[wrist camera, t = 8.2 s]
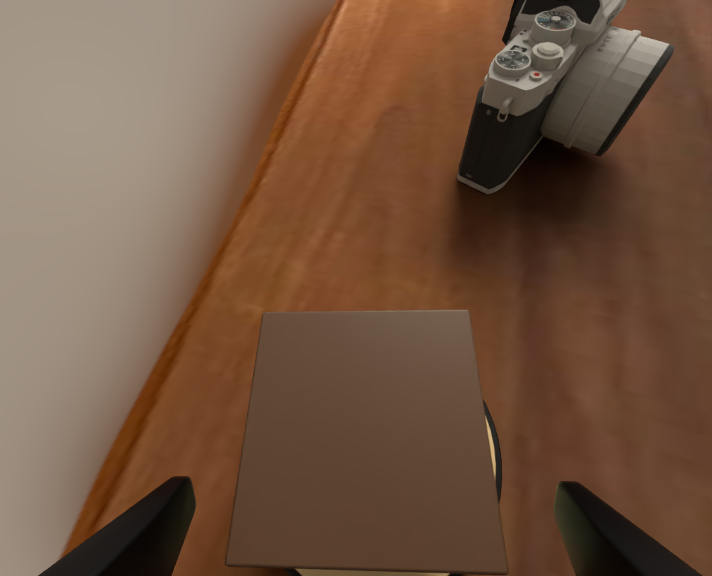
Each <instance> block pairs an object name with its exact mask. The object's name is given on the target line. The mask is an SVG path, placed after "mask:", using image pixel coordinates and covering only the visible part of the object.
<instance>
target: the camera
mask: <svg viewBox="0 0 712 576" xmlns="http://www.w3.org/2000/svg"><path fill="white" fill-rule="evenodd" d="M626 1H627V0H514V3H513V6H512V9H511V14H510V19H509V22H508V25H507V27H506V30H505V33H504V36H503V39H502V41H503V42H504V43H505V45H506V47H505V48H504V49H503V50H502V51H501V52H500V53H498V54H497V55H496V57H495V58H494V59H493V61H492V63H491V65H490V68H489V72H488V75H486V77H485V79H484V83H483V86H482V87H481V88H480V89H479V92H478V95H477V99H476V103H475V107H474V111H473V115H472V119H471V123H470V126H469V130H468V134H467V138H466V142H465V146H464V150H463V154H462V158H461V161H460V165H459V169H458V174H457V179H458V180H459V181H460V182H462V183H465V184H467V185H469V186H471V187H473V188H475V189H477V190H479V191H481V192H483V193H485V194H492V193H494V192H496V191H498V190H499V189H501V188H502V187H504V185H505V184H506V183H507V182H508V180H509V179H510V178H511V177H512V175H513V174H514V173H515V172H516V170H517V169H518V168H519V167H520V165H521V164H522V163H523V162H524V160H525V159H526V158H527V157H528V155H529V154H530V153H531V152H532V150H533V149H534V148H535V147H536V145H537V144H538V143H539V141H540V140H541V139H542V138H543V136H544V137H547V138H549V139H552V140H554V141H557V142H559V143H562V144H564V145H563V146H564V147H567V148H570V147H571V146H573V147H576V148H578V149H581V150H583V151H586V152H589V153H591V154H594V155H597V156H601V155H602V154H604V153H605V152H606V151H607V150H608V148H609V147H610V146H611V144H612V143H613V142H614V140H615V139H616V137H617V136H618V134H619V133H620V132H621V130H622V129H623V127H624V126H625V124H626V123H627V121H628V120H629V119H630V117H631V116H632V114H633V113H634V111H635V110H636V108H637V107H638V105H639V104H640V102H641V101H642V100H643V98H644V97H645V95H646V94H647V92H648V91H649V89H650V88H651V86H652V85H653V83H654V82H655V80H656V79H657V77H658V76H659V75H660V73H661V72H662V70H663V69H664V67H665V66H666V64H667V63H668V61H669V59H670V58H671V56H672V53H673V50H674V46H672V45H670V44H667V43H663V42H660V41H656V40H653V39H649V38H646V37H642V36H640V35H641V31H638V30H633V31H629V30H625V29H621V28H618V27H614V26H610V24H611V22H612V21H613V19H614V18H615V17H616V16H617V15H618V13H619V12H620V11H621V10H622V9H623V8H624V6H625V4H626Z"/></svg>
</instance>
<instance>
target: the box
mask: <svg viewBox="0 0 712 576" xmlns="http://www.w3.org/2000/svg"><path fill="white" fill-rule="evenodd" d="M495 475H496V462H495V451H494V444H493V440H492V435H491V430H490V427H489V424H488V421H487V419H486V416H485V410H484V404H483V397H482V390H481V384H480V377H479V370H478V364H477V357H476V351H475V344H474V337H473V331H472V324H471V317H470V312H469V310H397V311H315V312H264V313H263V314H262V321H261V327H260V334H259V340H258V347H257V354H256V360H255V367H254V373H253V380H252V387H251V393H250V400H249V406H248V413H247V420H246V426H245V433H244V440H243V446H242V453H241V459H240V466H239V473H238V479H237V486H236V492H235V499H234V506H233V512H232V519H231V525H230V532H229V539H228V545H227V552H226V558H225V565H226V566H228V567H256V568H288V569H296V570H297V571H298V572H299V573H300V574H301V575H302V576H448V575H449V574H480V575H507V574H508V571H509V570H508V563H507V556H506V550H505V543H504V536H503V530H502V523H501V516H500V510H499V503H498V497H497V490H496V483H495Z"/></svg>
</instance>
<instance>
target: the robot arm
mask: <svg viewBox="0 0 712 576" xmlns="http://www.w3.org/2000/svg"><path fill="white" fill-rule="evenodd" d="M195 508H196V499H195V495H194V490H193V485H192V481H191V478H190V477H188V476H174V477H172V478H170V479H169V480H167V481H166V482H165V483H163V484H162V485H161V486H159V487H158V488H156V489H155V490H154V491H152V492H151V493H150V494H148V495H147V496H146V497H144V498H143V499H142V500H140V501H139V502H137V503H136V504H135V505H133V506H132V507H131V508H129V509H128V510H127V511H125V512H124V513H123V514H121V515H120V516H118V517H117V518H116V519H114V520H113V521H112V522H110V523H109V524H108V525H106V526H105V527H104V528H102V529H101V530H99V531H98V532H97V533H95V534H94V535H93V536H91V537H90V538H89V539H87V540H86V541H85V542H83V543H82V544H80V545H79V546H78V547H76V548H75V549H74V550H72V551H71V552H70V553H68V554H67V555H66V556H64V557H63V558H61V559H60V560H59V561H57V562H56V563H55V564H53V565H52V566H51V567H50V568H48V569H47V570H45V571H44V572H42V573H41V574H40V575H38V576H171V575H172V572H173V570H174V567H175V564H176V562H177V559H178V556H179V553H180V551H181V548H182V545H183V543H184V540H185V537H186V534H187V532H188V529H189V526H190V523H191V521H192V518H193V515H194V512H195ZM554 516H555V520H556V523H557V525H558V528H559V531H560V533H561V536H562V539H563V542H564V544H565V547H566V550H567V552H568V555H569V558H570V560H571V563H572V566H573V568H574V571H575V574H576V576H702V575H701V574H699V573H698V572H697V571H696V570H694V569H693V568H692V567H690V566H689V565H688V564H686V563H685V562H684V561H682V560H681V559H680V558H678V557H677V556H676V555H674V554H673V553H672V552H670V551H669V550H668V549H666V548H665V547H664V546H662V545H661V544H660V543H658V542H657V541H656V540H654V539H653V538H652V537H650V536H649V535H648V534H646V533H645V532H644V531H642V530H641V529H640V528H638V527H637V526H636V525H634V524H633V523H632V522H630V521H629V520H628V519H626V518H625V517H624V516H623V515H621V514H620V513H619V512H617V511H616V510H615V509H613V508H612V507H611V506H609V505H608V504H607V503H605V502H604V501H603V500H601V499H600V498H599V497H597V496H596V495H595V494H593V493H592V492H591V491H589V490H588V489H587V488H585V487H584V486H583V485H581V484H580V483H578V482H575V481H560V482H559V483H558V484H557V488H556V495H555V501H554Z"/></svg>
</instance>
